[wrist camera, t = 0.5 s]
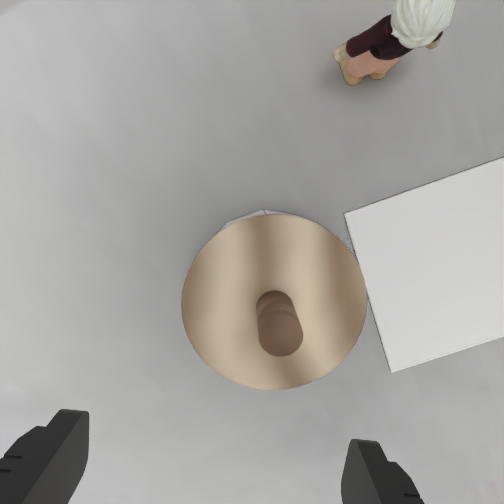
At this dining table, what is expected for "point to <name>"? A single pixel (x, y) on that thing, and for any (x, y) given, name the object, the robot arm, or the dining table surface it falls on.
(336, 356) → the lid
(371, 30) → the grandmother figurine
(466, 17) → the dining table surface
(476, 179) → the mat
